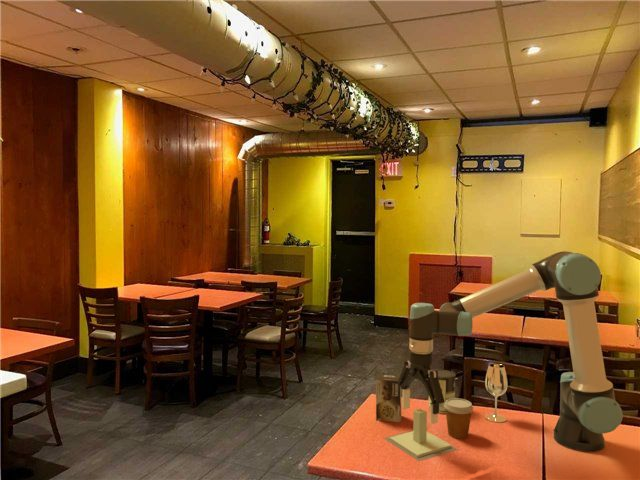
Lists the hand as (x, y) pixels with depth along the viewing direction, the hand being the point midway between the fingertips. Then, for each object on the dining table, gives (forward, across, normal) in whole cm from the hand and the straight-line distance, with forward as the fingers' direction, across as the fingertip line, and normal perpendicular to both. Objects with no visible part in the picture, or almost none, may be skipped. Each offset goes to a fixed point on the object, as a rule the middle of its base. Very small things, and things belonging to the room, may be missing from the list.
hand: (419, 415), depth 163 cm
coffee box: (+11, -22, +4) cm, 25 cm away
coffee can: (+10, -21, +29) cm, 37 cm away
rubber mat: (+10, 0, 0) cm, 10 cm away
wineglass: (+10, -4, +40) cm, 42 cm away
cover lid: (+9, 0, 0) cm, 9 cm away
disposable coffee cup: (+10, +1, +16) cm, 19 cm away
